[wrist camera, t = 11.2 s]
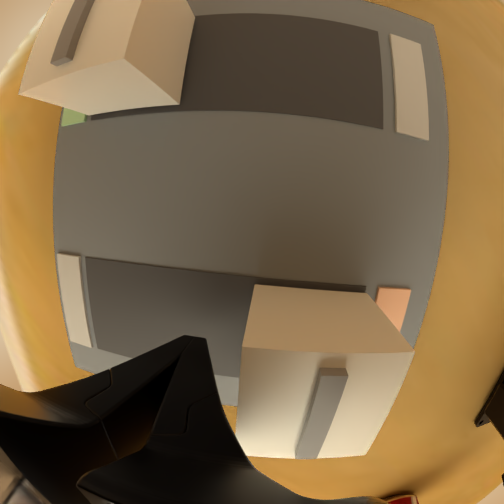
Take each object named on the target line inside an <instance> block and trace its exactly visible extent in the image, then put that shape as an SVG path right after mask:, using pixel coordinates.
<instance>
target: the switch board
mask: <svg viewBox="0 0 504 504" xmlns="http://www.w3.org/2000/svg"><path fill="white" fill-rule="evenodd" d="M187 2H188V4H189V6H190V8H191V10H192V12H193V14H194V16H195V21H194V25H193V30H192V34H191V39H190V44H189V49H188V55H187V60H186V66H185V72H184V78H183V85H182V91H181V98H180V105H165V106H153V107H143V108H134V109H126V110H119V111H112V112H106V113H100V114H94V115H86V114H83V113H80V112H77V111H74V110H71V109H67V108H64V107H62V112H61V118H60V124H59V130H58V138H57V146H56V156H55V168H54V186H53V230H54V248H55V260H56V270H57V279H58V286H59V293H60V300H61V306H62V311H63V317H64V322H65V326H66V331H67V336H68V340H69V344H70V348H71V352H72V356H73V359H74V363H75V366H76V367H78V368H80V369H83V370H86V371H89V372H91V373H94V374H97V373H100V372H102V371H105V370H107V369H110V368H112V367H114V366H116V365H119V364H121V363H123V362H126V361H128V360H130V359H132V358H135V357H137V356H139V355H141V354H144V353H146V352H148V351H150V350H152V349H155V348H157V347H159V346H161V345H163V344H166V343H168V342H170V341H172V340H174V339H176V338H178V337H180V336H183V335H190V336H195V337H203V338H206V339H207V344H208V348H209V353H210V358H211V362H212V367H213V371H214V375H215V380H216V384H217V388H218V392H219V396H220V400H221V404H222V405H230V406H238V393H239V379H240V366H241V352H242V344H243V339H244V334H245V329H246V324H247V320H248V315H249V310H250V305H251V300H252V295H253V290H254V285H255V284H258V285H268V286H279V287H291V288H303V289H315V290H328V291H342V292H357V293H367V294H368V295H369V296H370V297H371V298H372V300H373V301H374V302H375V303H376V304H377V305H378V307H379V308H380V309H381V310H382V311H383V313H384V314H385V315H386V316H387V317H388V319H389V320H390V321H391V322H392V323H393V325H394V326H395V327H396V328H397V330H398V331H399V332H400V333H401V334H402V336H403V337H404V338H405V339H406V341H407V342H408V343H409V344H410V346H411V347H412V348H413V349H414V346H415V343H416V340H417V337H418V334H419V331H420V328H421V325H422V321H423V318H424V315H425V311H426V308H427V304H428V300H429V297H430V293H431V289H432V285H433V280H434V276H435V271H436V267H437V262H438V256H439V251H440V245H441V239H442V232H443V225H444V218H445V209H446V198H447V185H448V163H449V134H448V113H447V100H446V91H445V82H444V75H443V68H442V62H441V57H440V51H439V46H438V42H437V37H436V33H435V29H434V25H433V24H431V23H428V22H426V21H423V20H421V19H419V18H416V17H413V16H411V15H408V14H405V13H403V12H400V11H397V10H394V9H391V8H388V7H385V6H381V5H378V4H374V3H371V2H367V1H363V0H187Z"/></svg>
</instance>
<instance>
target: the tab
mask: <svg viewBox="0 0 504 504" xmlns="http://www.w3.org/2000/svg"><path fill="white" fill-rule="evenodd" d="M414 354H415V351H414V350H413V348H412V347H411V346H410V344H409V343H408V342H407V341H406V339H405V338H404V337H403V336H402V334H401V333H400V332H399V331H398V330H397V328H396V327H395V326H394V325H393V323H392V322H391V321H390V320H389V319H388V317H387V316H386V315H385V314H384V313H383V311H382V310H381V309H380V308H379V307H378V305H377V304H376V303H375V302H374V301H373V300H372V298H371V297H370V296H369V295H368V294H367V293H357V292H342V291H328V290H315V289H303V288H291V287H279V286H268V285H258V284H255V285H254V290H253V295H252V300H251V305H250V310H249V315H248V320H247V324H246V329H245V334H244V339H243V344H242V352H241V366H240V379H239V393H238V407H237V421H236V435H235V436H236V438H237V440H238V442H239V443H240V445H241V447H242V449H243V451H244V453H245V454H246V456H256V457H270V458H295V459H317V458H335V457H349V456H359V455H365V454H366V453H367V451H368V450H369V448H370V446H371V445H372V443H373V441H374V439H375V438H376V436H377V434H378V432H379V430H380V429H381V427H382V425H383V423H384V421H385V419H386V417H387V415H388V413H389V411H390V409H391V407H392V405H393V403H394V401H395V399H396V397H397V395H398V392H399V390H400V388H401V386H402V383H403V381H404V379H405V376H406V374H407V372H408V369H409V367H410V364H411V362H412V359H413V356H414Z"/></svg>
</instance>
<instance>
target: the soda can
mask: <svg viewBox="0 0 504 504" xmlns="http://www.w3.org/2000/svg"><path fill="white" fill-rule="evenodd" d="M383 500H384V501H386V502H388V503H389V504H419V503H418V500H417V497H416V496H415V495H396V496H392V497H389V498H385V499H383Z"/></svg>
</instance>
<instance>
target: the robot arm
mask: <svg viewBox="0 0 504 504" xmlns="http://www.w3.org/2000/svg"><path fill="white" fill-rule="evenodd" d="M489 422H491V423H492V424H493V425H494V427H495V428H496V429H497V431H498V432H499V434H500V435H501V437H502V438H503V439H504V371H503V373H502V375H501V377H500V379H499V381H498V383H497V385H496V387H495V389H494V391H493V392H492V394H491V396H490V398H489V399H488V401H487V403H486V405H485V406H484V408H483V409H482V411H481V413H480V414H479V416H478V417H477V419H476V420H475V422H474V424H475V425H476V427H479V426H482V425H484V424H487V423H489ZM502 480H503V485H504V474H503V475H502ZM0 504H389V503H388V502H386V501H384V500H382V499H380V498H376V497H364V496H362V497H351V498H343V499H334V500H320V499H311V498H307V497H303V496H301V495H298V494H296V493H294V492H292V491H290V490H289V489H287V488H285V487H284V486H282V485H280V484H278V483H277V482H275V481H274V480H272V479H270V478H269V477H267V476H266V475H264V474H262V473H261V472H259V471H258V470H257V469H256V468H255V467H254V466H253V465H252V464H251V462H250V461H249V459H248V458H247V456H246V454H245V453H244V451H243V449H242V447H241V445H240V443H239V442H238V440H237V438H236V436H235V434H234V432H233V430H232V428H231V426H230V424H229V422H228V420H227V418H226V415H225V413H224V410H223V407H222V404H221V400H220V396H219V392H218V388H217V384H216V380H215V375H214V371H213V367H212V362H211V358H210V353H209V348H208V344H207V339H206V338H203V337H195V336H190V335H183V336H180V337H178V338H176V339H174V340H172V341H170V342H168V343H166V344H163V345H161V346H159V347H157V348H155V349H152V350H150V351H148V352H146V353H144V354H141V355H139V356H137V357H135V358H132V359H130V360H128V361H126V362H123V363H121V364H119V365H116V366H114V367H112V368H110V369H107V370H105V371H102V372H100V373H97V374H95V375H92V376H89V377H87V378H84V379H81V380H78V381H74V382H71V383H68V384H64V385H61V386H57V387H54V388H50V389H46V390H43V391H38V392H21V391H17V390H14V389H11V388H9V387H6V386H4V385H1V384H0Z"/></svg>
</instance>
